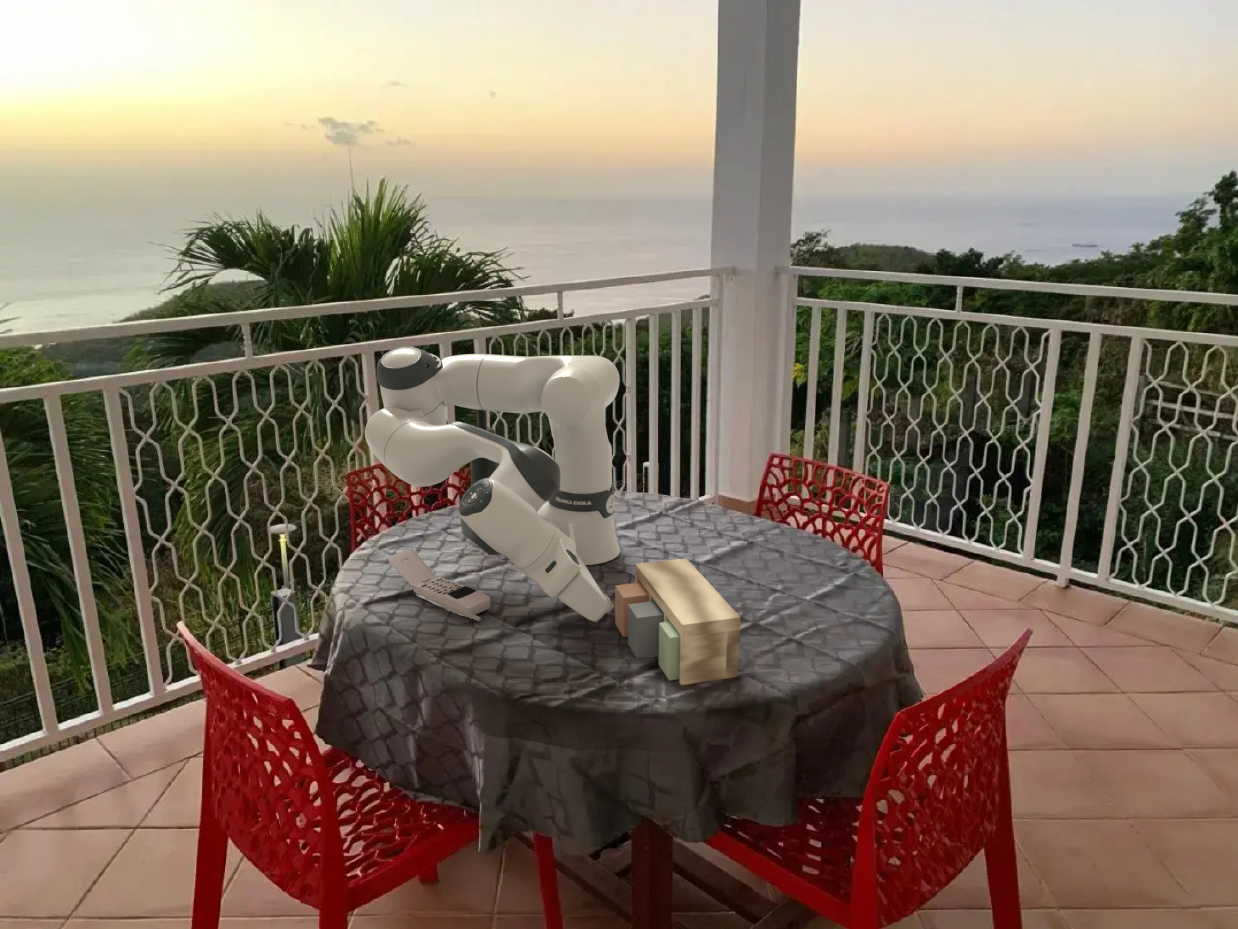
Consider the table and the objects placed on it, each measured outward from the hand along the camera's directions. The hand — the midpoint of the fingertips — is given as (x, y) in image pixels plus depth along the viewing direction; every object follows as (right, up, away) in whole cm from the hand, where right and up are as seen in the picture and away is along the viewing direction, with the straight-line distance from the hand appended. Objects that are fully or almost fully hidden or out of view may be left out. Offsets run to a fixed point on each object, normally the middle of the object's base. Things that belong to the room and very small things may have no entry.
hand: (609, 606), depth 147 cm
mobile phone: (-30, -1, +15) cm, 34 cm away
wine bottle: (-27, +9, +50) cm, 57 cm away
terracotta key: (+5, -4, +3) cm, 7 cm away
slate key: (+8, -6, -4) cm, 10 cm away
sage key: (+12, -8, -10) cm, 18 cm away
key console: (+12, -6, -3) cm, 13 cm away
